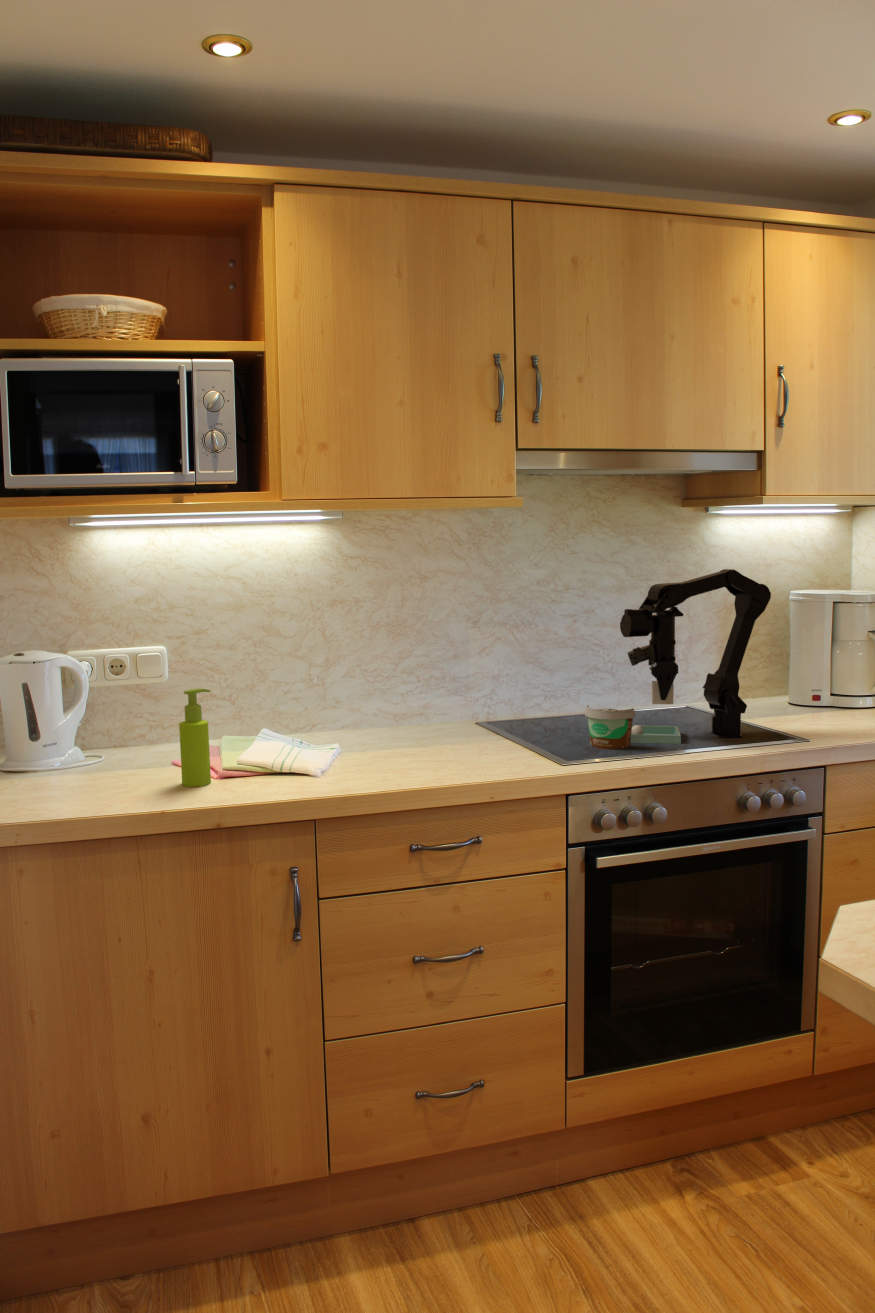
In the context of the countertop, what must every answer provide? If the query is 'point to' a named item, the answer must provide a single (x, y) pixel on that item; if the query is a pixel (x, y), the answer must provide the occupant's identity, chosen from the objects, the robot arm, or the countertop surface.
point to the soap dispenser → (194, 744)
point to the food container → (610, 727)
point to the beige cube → (656, 694)
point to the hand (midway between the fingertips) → (662, 698)
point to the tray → (658, 735)
